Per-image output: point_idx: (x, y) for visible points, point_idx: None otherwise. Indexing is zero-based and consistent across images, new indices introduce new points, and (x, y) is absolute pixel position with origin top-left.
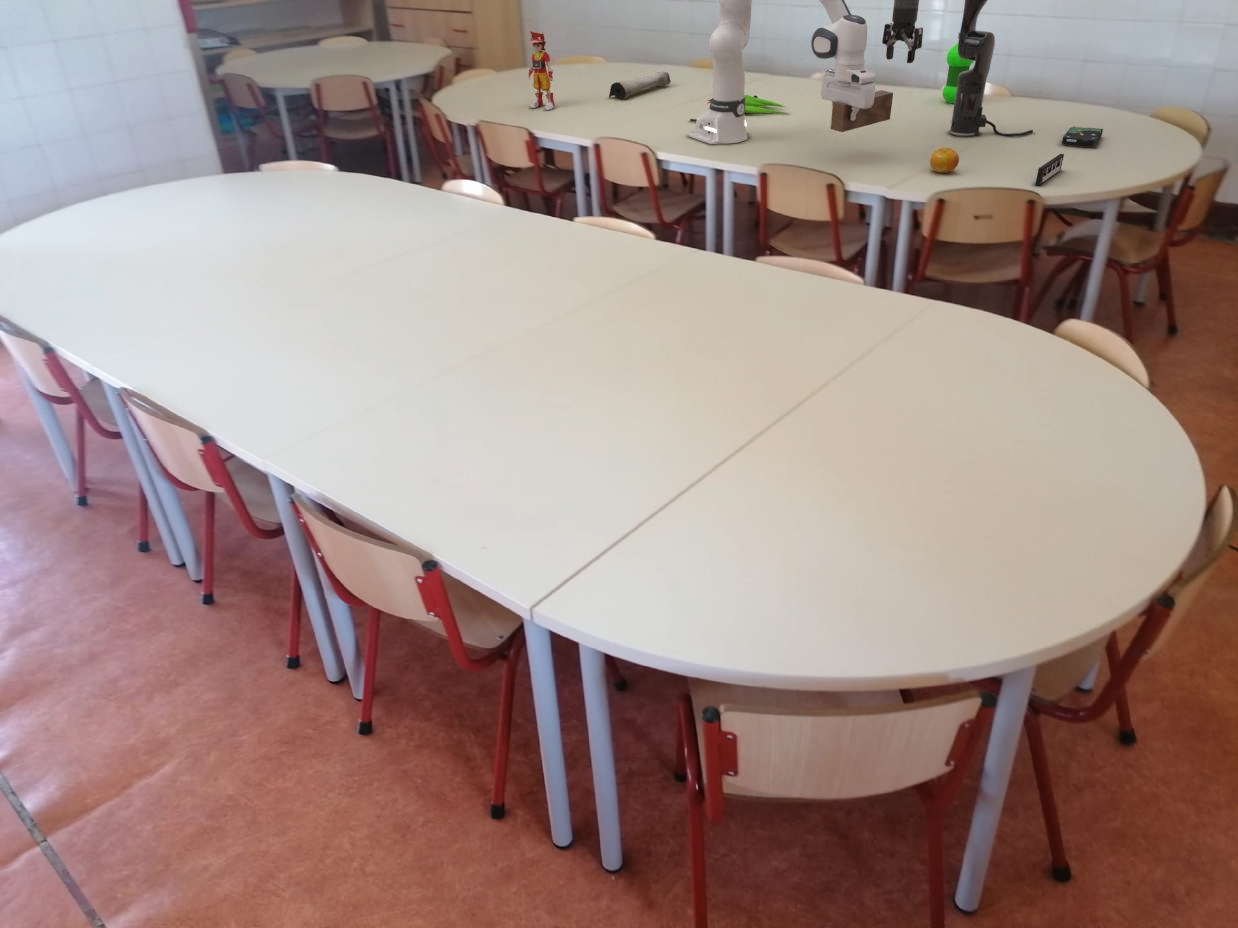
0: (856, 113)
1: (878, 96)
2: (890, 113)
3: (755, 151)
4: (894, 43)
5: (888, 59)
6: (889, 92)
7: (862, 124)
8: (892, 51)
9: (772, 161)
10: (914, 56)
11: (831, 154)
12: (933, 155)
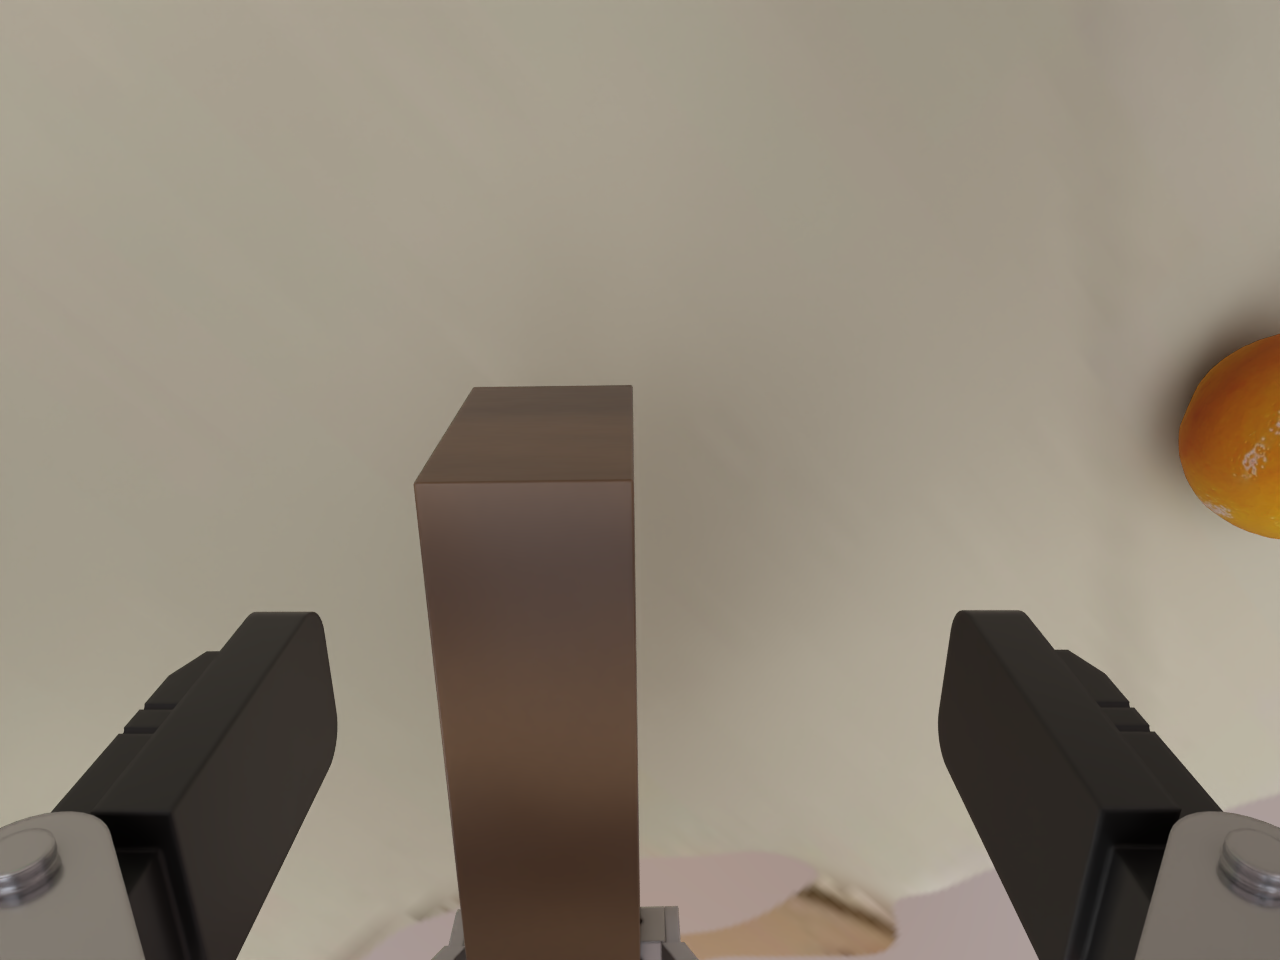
0: (686, 949)
1: (634, 728)
2: (632, 406)
3: None
4: (122, 923)
5: (322, 726)
6: (585, 505)
7: (637, 738)
8: (243, 755)
9: (320, 927)
10: (1139, 726)
11: (423, 628)
12: (1264, 529)
